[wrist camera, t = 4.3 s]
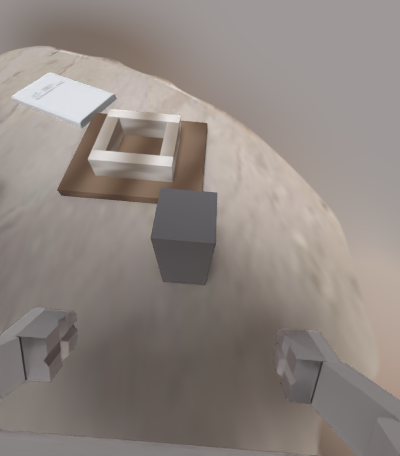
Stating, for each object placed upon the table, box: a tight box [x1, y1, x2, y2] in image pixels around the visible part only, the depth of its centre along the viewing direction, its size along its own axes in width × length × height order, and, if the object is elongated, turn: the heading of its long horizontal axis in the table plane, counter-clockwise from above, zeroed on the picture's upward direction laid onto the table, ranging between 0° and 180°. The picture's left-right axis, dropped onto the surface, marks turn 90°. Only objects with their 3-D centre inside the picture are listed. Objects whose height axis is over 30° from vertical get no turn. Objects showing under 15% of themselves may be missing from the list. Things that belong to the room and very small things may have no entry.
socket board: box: [57, 109, 207, 204], centre depth 28 cm, size 16×14×4 cm
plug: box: [151, 188, 217, 285], centre depth 19 cm, size 4×4×9 cm
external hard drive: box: [12, 72, 116, 128], centre depth 35 cm, size 2×8×12 cm
